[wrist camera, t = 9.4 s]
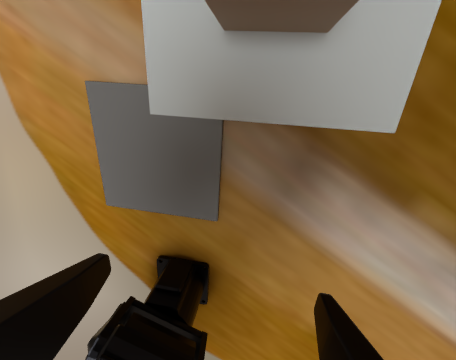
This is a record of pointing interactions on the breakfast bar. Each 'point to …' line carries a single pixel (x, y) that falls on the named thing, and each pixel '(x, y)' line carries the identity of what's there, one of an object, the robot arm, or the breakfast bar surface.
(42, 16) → the breakfast bar surface
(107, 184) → the mat
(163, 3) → the lid
